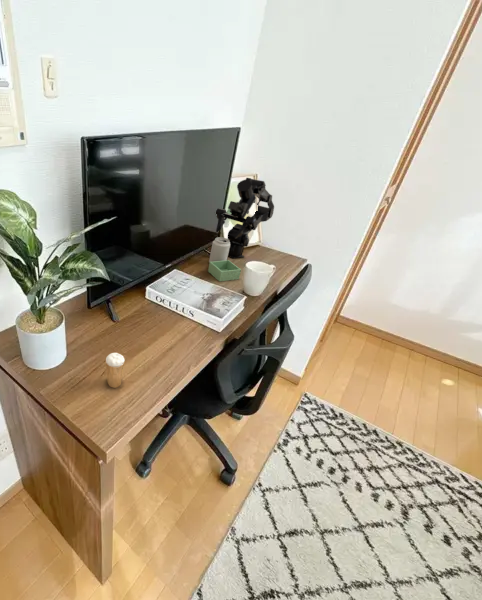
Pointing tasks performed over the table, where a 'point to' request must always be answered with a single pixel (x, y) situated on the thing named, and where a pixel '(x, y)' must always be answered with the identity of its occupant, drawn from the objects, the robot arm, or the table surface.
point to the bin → (224, 270)
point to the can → (219, 249)
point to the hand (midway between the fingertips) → (225, 234)
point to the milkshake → (114, 369)
